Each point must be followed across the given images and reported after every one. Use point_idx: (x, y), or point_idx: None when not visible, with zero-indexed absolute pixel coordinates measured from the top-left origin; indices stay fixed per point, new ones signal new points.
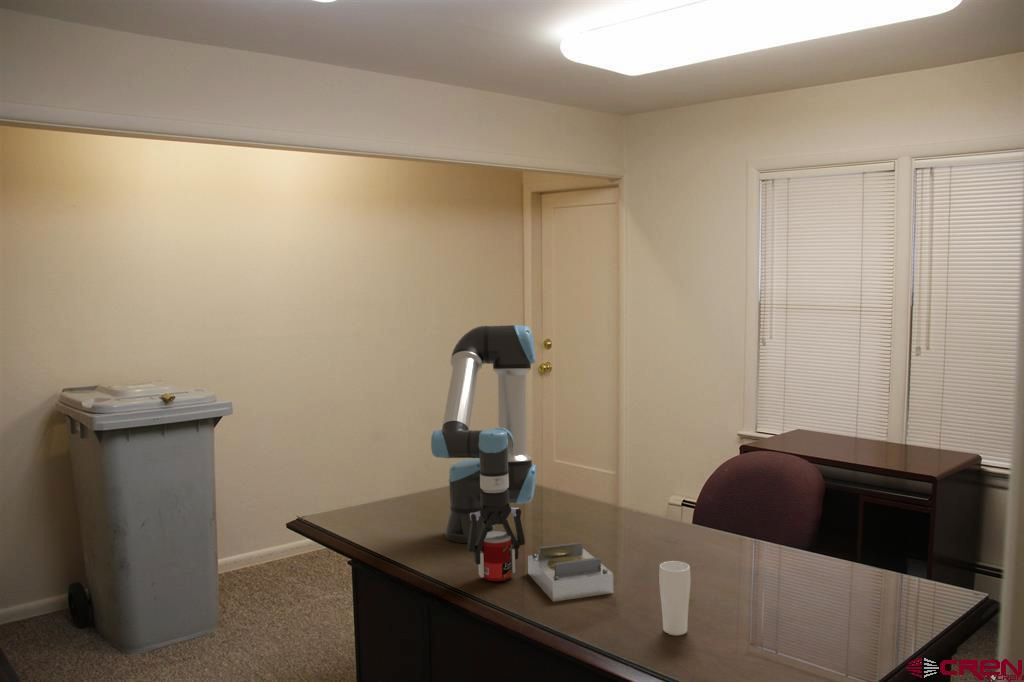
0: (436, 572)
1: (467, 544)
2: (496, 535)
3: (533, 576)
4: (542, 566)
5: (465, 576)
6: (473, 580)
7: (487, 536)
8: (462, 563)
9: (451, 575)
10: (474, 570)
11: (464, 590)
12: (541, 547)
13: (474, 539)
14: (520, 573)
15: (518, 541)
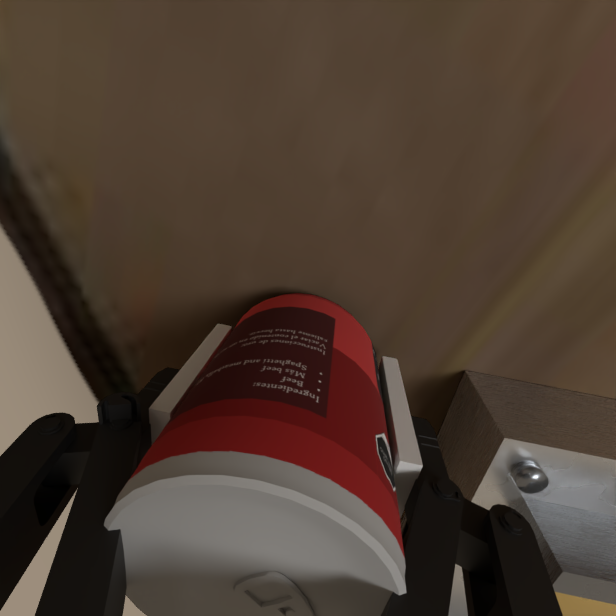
0: (35, 96)
1: (17, 441)
2: (276, 551)
3: (442, 444)
4: (455, 573)
5: (177, 244)
6: (200, 310)
7: (180, 523)
8: (216, 5)
9: (112, 191)
10: (246, 184)
11: (138, 383)
12: (578, 582)
13: (18, 572)
14: (437, 347)
15: (460, 560)
